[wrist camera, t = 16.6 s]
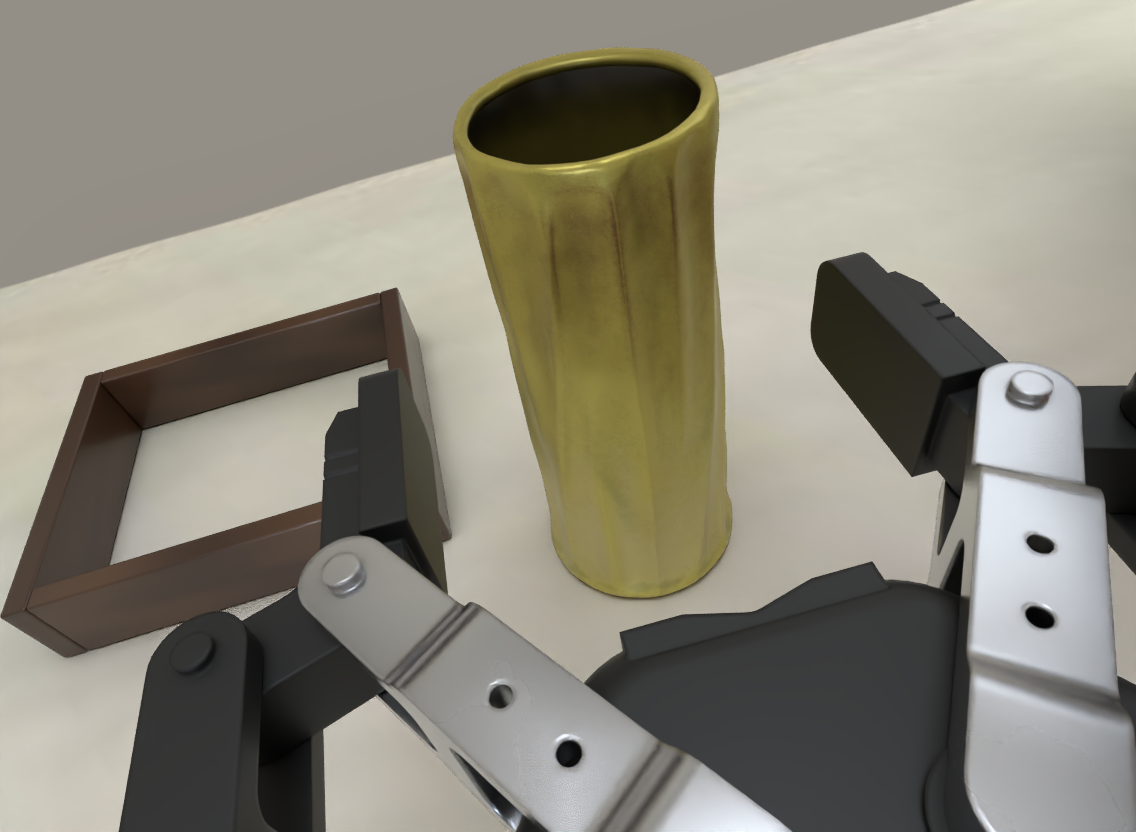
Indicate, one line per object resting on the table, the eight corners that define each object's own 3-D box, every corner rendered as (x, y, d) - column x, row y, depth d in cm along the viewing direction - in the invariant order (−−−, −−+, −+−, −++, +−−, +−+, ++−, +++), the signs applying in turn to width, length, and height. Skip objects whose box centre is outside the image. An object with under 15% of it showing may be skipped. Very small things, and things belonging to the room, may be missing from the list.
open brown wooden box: (418, 338, 32) (397, 286, 30) (452, 539, 24) (426, 487, 22) (128, 422, 32) (84, 375, 29) (64, 659, 24) (-2, 617, 21)
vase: (583, 629, 21) (459, 222, 11) (531, 482, 26) (406, 88, 15) (765, 561, 22) (809, 115, 12) (685, 429, 26) (666, 14, 16)
